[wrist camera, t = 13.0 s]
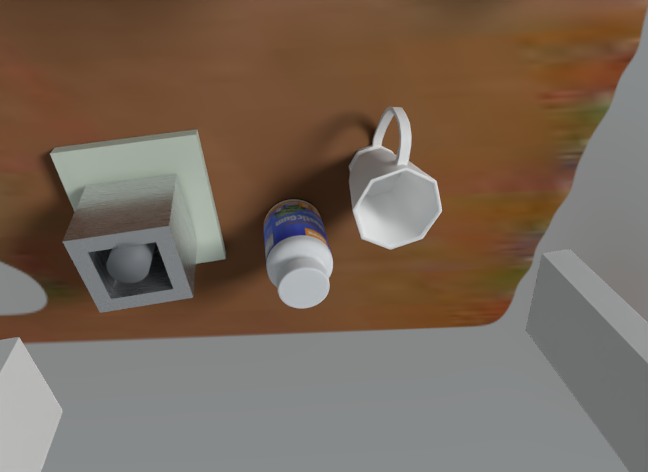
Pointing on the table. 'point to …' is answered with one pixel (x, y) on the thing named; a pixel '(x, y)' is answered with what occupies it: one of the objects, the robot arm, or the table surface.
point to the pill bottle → (297, 253)
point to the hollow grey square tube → (134, 240)
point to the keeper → (140, 162)
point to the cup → (392, 189)
